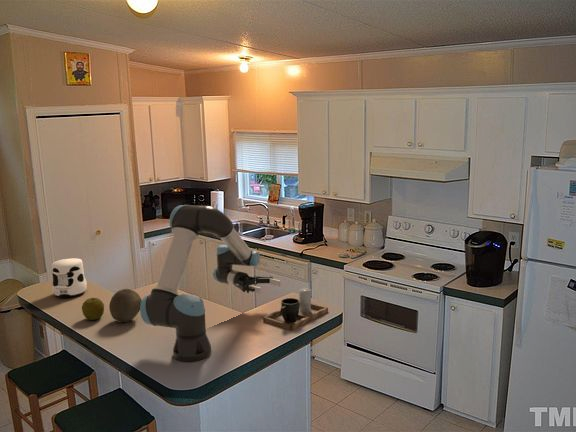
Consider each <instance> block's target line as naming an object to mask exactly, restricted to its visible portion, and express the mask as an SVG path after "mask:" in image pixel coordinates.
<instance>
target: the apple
mask: <svg viewBox="0 0 576 432" xmlns="http://www.w3.org/2000/svg"><path fill="white" fill-rule="evenodd" d="M81 311H82V315H83V316H84V317H85V319H87V320H91V321H96V320H98V319H100V318H101V317H102V316H103V314H104V312H105V304H104V303H103V301H102V300H101V299H99V298H98V297H90V298H86V300H84V302H83V303H82V306H81Z"/></svg>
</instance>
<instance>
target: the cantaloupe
mask: <svg viewBox="0 0 576 432" xmlns="http://www.w3.org/2000/svg"><path fill="white" fill-rule="evenodd" d="M141 301H142V298H141V295H140V294H139V293H137V292H136V291H135V290H133V289H129V288H123V289H120V290H118V291H117V292H116V293H114V294H113V295H112V297H111V299H110V301H109V306H108V307H109V308H108V309H109V312H110V316H111V317H112V318H113V320H115V321H117V322H119V323H127V322H129V321H132V320H134V318H136V317H137V315H138V314H139V312H140V305H141Z"/></svg>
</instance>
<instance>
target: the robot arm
mask: <svg viewBox="0 0 576 432" xmlns="http://www.w3.org/2000/svg"><path fill="white" fill-rule="evenodd" d="M169 215H170V216H169V226H170V227H169V228H170V229H171V233H172V236H173V237H172V239H171V242H170V245H169V248H168V252H167V255H166V256H165V257H166V258H165V261H164V263H163V267H162V270H161V273H160V276H159V278H158V282H157V285H156V286H155V287H152V289H151V291H150V294H148V295H145V296H144V297H142V298H141V300H142V301H141V305H140V311H139V312H140V316H141V317H140V318H141V319H142V321H143V322H144V324H147V325H150V326H154V327H165V328H171V329H172V328H173V329H175V333H176V334H175V335H176V337H175V342H174V345H173V349H172V356H173V358H174V359H175V360H177V361H180V362H186V363H191V362H192V363H193V362H198V361H202V360H204V359H206V358H208V357H209V356H210V355H211V354H212V345H211V342H210V340H209V337H208V335H207V329H206V328H207V327H206V326H207V325H206V313H205V312H206V309H205V302H204V300H203V298H202V297H200V296H198V295H196V294H195V295H194V294H191V293H187V294H185V293H183V294H179V293H178V291H179V287H180V284H181V281H182V278H183V274H184V271H185V268H186V264H187V261H188V258H189V255H190V251H191V249H192V245H193V243H194V241H195V240H198V238H199V235H200V233H203V234H204V233H206V234H210V235H211V234H212V235H213V236H215V237H216V238H218V239H220V240H221V241H222V242H223V243H224V244H219V245H218V246H217V248H216V260H217V261H216V262H217V263H216V264H217V265H216V266H217V267H216V268H215V269H214V270H213V273H212V277H213V279H214V281H216V282H219V283H221V284H226V285H229V286H233V287H235V288H238V289H240V290H241V291H242V292H243V293H245V292H246V293H247V294H248V293H250V292H252V293H255V294H258V295H259V294H262V288H261V287H260V286H257V285H258V284H269V285H271V286H277V287H281V286H282V283H281V282H282V281H281V280H280V279H275V278H274V276H268V275H267V276H266V275H265V276H263V275H255V274H254V276H249V274H248V273H246V272H243V271H240V270H234V269H233V266H244V267H250V268H251V267H257V266H258V265H259V263H260V260H261V254H260V253H259V251H256V250H252V249H250V247H249V246H248V244H247V243H246V242H245V241H244V239H243V238H242V237H241V236H240V234H239V233H238V232H237V230H236V229H235V228H234V223H233V222H232V220H231V219H230V218H229V217H228V216H227V215H226V214H225V213H224V212H223V211H221V210H219V209H218V208H216V207H214V206H210V205H192V204H191V205H190V204H184V205H183V204H182V205H181V204H180V205H178V206H176V207H174V208H173V209H172V211H171V213H170V214H169ZM255 285H256V286H255Z"/></svg>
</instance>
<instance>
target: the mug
mask: <svg viewBox="0 0 576 432" xmlns="http://www.w3.org/2000/svg"><path fill="white" fill-rule="evenodd" d="M280 305H281V306H280V307H281V308H280V309H281V310H280V309H279V310H280V311H281V314H280V316H281V317H282V318H283V320H284V321H283V322H284V323H287V324H294V323H295V322H297V321H298V314H299V312H300V307H299V299H298V298H295V297H287V298H283V299H282V300H281V302H280ZM293 322H294V323H293Z"/></svg>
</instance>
